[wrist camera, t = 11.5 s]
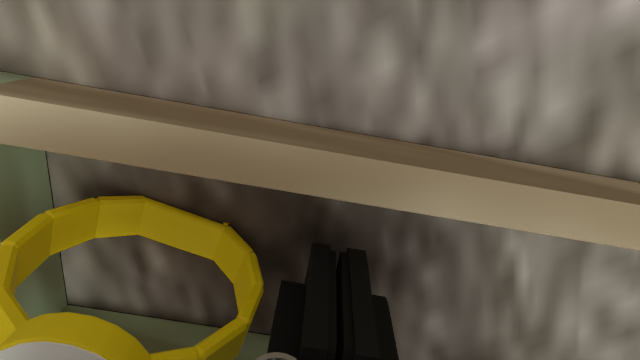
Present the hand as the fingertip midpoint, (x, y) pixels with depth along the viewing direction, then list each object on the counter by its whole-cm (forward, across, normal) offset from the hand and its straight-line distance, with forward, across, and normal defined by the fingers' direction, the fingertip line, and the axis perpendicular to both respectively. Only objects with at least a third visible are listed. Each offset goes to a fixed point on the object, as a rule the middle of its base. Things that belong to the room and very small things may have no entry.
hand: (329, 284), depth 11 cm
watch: (+1, +5, -1) cm, 5 cm away
